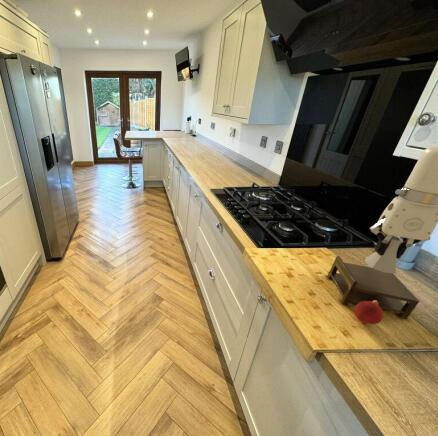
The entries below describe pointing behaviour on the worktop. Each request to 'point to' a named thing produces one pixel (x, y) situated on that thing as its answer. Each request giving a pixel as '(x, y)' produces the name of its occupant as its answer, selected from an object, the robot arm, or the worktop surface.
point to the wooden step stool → (371, 287)
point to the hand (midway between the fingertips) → (386, 253)
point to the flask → (385, 257)
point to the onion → (369, 312)
